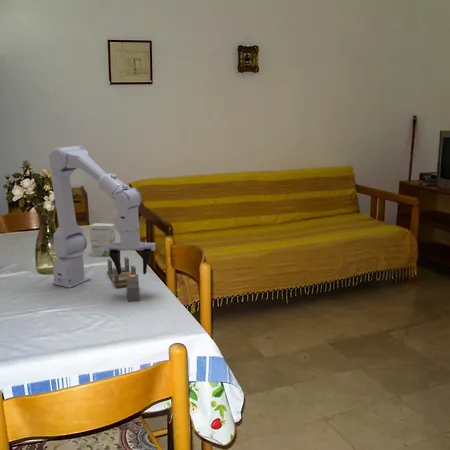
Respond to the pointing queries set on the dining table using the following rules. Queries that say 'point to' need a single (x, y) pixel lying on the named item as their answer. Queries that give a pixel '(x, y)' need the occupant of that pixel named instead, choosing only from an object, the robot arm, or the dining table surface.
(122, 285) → the cradle
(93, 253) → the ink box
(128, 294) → the grey rectangular block
